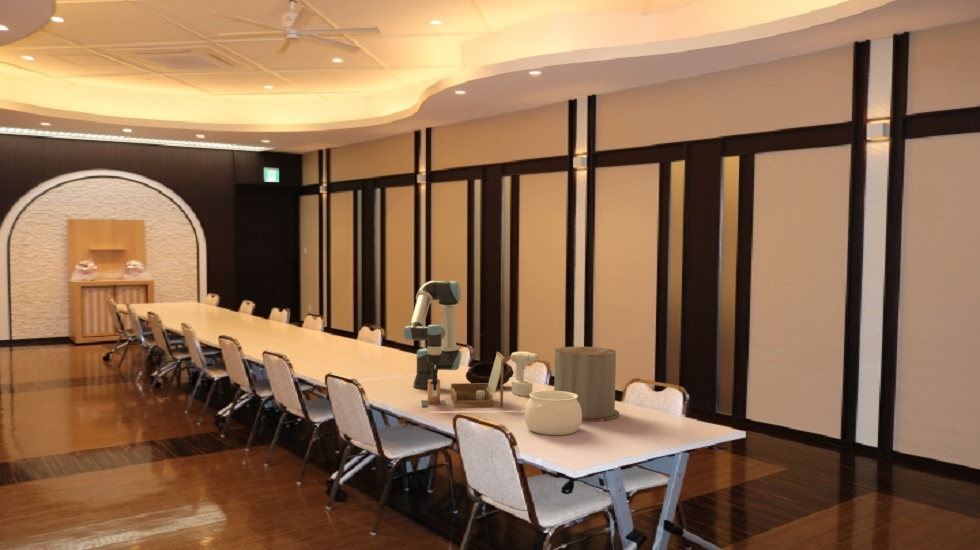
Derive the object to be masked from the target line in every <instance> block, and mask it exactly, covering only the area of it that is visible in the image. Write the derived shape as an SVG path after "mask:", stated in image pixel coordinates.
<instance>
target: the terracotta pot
mask: <svg viewBox="0 0 980 550" xmlns="http://www.w3.org/2000/svg"><path fill="white" fill-rule="evenodd" d="M431 382H432V379H429V380H428V389H427V400H428V403H429V404H438V403H440V400H441V379H439V378H437V382H438V383H437V396H432V384H431Z"/></svg>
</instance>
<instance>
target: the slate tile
mask: <svg viewBox="0 0 980 550" xmlns="http://www.w3.org/2000/svg"><path fill="white" fill-rule="evenodd" d="M420 404H422V405H421V407H422V408H429V406H447V405H448V404H447V402H446V399H440V403H438V404H429V403H428V399H427V400H426V399H424V400H423V399H422V400H420Z"/></svg>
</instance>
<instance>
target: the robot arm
mask: <svg viewBox="0 0 980 550" xmlns="http://www.w3.org/2000/svg"><path fill="white" fill-rule="evenodd" d="M461 289H462V288H461V286H460V283H459V282H458V281H457V280H436V279H435V280H430V281H426V282H425V283H424V284H423V285H421V286H420V288H419V289H418V290H417V293H416V296H415V300H416V302H415V305H414V309H413V312H412V315H411V319H410V323H409V325H406V326H405V327H404V329H403V338H404V339H405V340H408V341H427V345H426V346H427V347H424V348H419V349H418V350H416V375H415V378H414V381H413V388H415V389H421V390H428V380H429V379H432V382H431V384H432V396H437V383H438V382H437V379H438V372H439V371H457V370H459V369H460V366H461V362H462V354H463V353H462V350H460V348H459V346H458V345H457V306H458V304H459V301H461V300H462V290H461ZM433 301H438V305H439V306H440V307H441V309H440V310H441V312H440V313H441V315H440V316H441V317H440V318H441V324H429V325H427V326H425V323H426V318H427V315H428V311H429V307H430V304H431V303H432V302H433Z"/></svg>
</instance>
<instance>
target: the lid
mask: <svg viewBox="0 0 980 550" xmlns="http://www.w3.org/2000/svg"><path fill="white" fill-rule="evenodd" d="M495 354H496V355H495V358H494V361H493V362H494V365H493V369H492V372H491V376H490V380H489V383H488V389H489V390H490V392H491V393H492V395H495V394H496V390H497V388H498V387H497V384H498V380H499V377H500V373H501V359H504V361H505V360H506V358H505V356H504V355H502V353H500V352H499V351H496V353H495Z"/></svg>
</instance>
